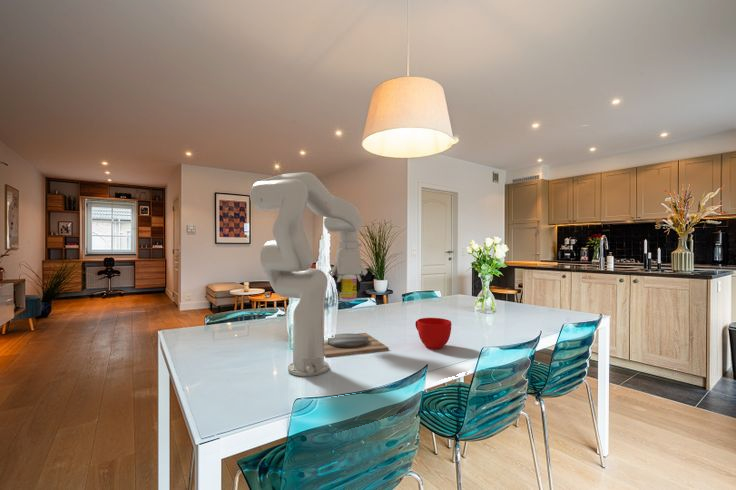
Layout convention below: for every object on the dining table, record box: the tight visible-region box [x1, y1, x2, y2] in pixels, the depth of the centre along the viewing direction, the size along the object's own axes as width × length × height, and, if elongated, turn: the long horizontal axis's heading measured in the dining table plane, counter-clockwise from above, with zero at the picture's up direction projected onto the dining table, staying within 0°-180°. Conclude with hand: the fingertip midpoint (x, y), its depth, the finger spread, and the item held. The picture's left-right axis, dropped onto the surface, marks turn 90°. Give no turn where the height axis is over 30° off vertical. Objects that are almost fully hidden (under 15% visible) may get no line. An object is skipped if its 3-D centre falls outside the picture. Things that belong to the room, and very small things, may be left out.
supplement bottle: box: [339, 274, 357, 303], centre depth 137 cm, size 7×7×13 cm
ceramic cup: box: [414, 317, 452, 350], centre depth 136 cm, size 13×17×10 cm
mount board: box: [324, 332, 390, 358], centre depth 137 cm, size 24×24×2 cm
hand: (348, 291), depth 137 cm, fingers closed on supplement bottle, 6 cm apart
